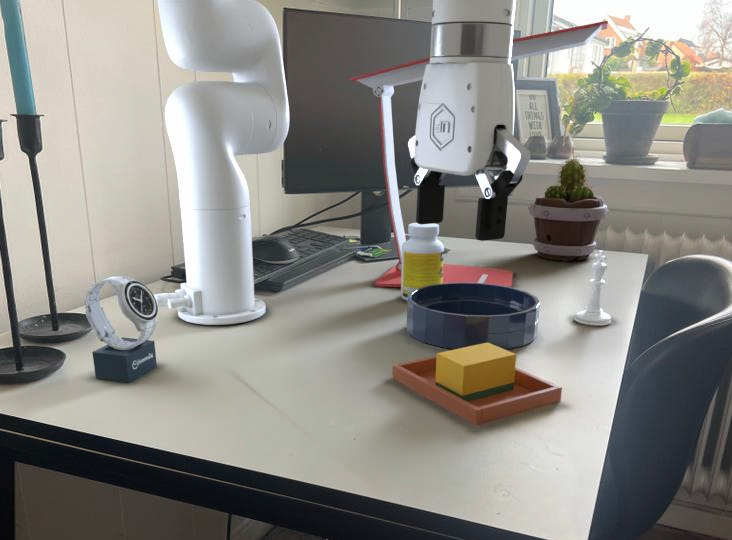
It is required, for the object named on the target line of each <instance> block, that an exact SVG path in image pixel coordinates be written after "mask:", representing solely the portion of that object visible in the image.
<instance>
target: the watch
mask: <svg viewBox="0 0 732 540" xmlns="http://www.w3.org/2000/svg"><path fill="white" fill-rule="evenodd" d="M106 284H110V285H111V289H112V290H113V291H114V293H115V295H116V300H117V306H118V308H119V310H120V311H121V313H122V314H123V316H124V317H125V318H126V319H127V320H129V321H130V322H132V324H133V325H134V327H135V328H136V331H138V332H140V334H139V336H138V338H132V337H124V336H123V337H118V335H117V334H116V329H115V328H114V327H113V325H112V324H111V322H110V321H109V319H108V317H107V315H106V313H105V311H104V307H101V302H100V301H99V299H100V293H101V290H102V289H103V287H104V286H105V285H106ZM84 308H85V311H84V313H85V316H86V318H87V321H88V323H89V325H90V327H91V329H92V331H93V332H94V334H95V336H96V337H97V338H98V339H99V341H100V342H103V343H104V344H106V345H104V346H102V347H100V348H98V349H95V350H94V351H92V352H91V353H92V360H93V367H94V375H95V379H99V380H105V381H106V380H107V381H111V382H112V381H113V382H120V383H126V384H129V383H131V382H133V381H135V380H137V379H138V378H139V377H142V376H143V375H145V374H146V373H148V372H150V371H152V370H153V369H155V368H156V367H157V366H158V365H157V353H156V345H155V344H156V343H155V340H150V338H151V336H152V335H153V334H154V331H155V329H156V326H157V323H158V314H159V308H158V304H157V301H156V299H155V297H154V293H153V292H152V290H151V288H149V287H148V286H147V285H146V284H145V283H143V282H141V281H139V280H135V279H134V278H132V277H128V276H125V275H114V276H113V275H112V276H110V277H107V278H104V279H101V280H98V281H96V282H94V283H93V284H92V285H90V287H89V288H88V290H87V293H86V294H85V298H84Z"/></svg>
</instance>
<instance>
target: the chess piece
mask: <svg viewBox="0 0 732 540" xmlns="http://www.w3.org/2000/svg"><path fill="white" fill-rule="evenodd" d="M593 257H594V259H597V261H596V262H594V263H592V264H591V270H592V275H593V278H591V279H589V282H588V283H590V284H591V285H592V289H591V294H590V298H589V302H588V306H587V307H585V308H584V309H585V310H580V311H578V312H576V313H575V316H574V321H575V322H577V323H579V324H582V325H587V326H595V327H596V326H600V327H601V326H602V327H603V326H608V325H610V324H611V323H612V321H611V320H612V316H611V315H609V314H608V313H606V312H603V311H604V309H602V307H601V285H602V286H603V285H605V284H606V280H604V279H603V276H604V274H605V272H606V270H607V267H608V265H607V264H606V263H604V262H603V261H606V260H607V256H606V255H604V250H598V253H595V254H594V256H593Z"/></svg>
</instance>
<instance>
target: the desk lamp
mask: <svg viewBox="0 0 732 540" xmlns="http://www.w3.org/2000/svg"><path fill="white" fill-rule="evenodd" d="M608 24H609V21H608V20H605V21H599V22H593V23H588V24H584V25H583V24H582V25H578V26H573V27H567V28H563V29H558V30H553V31H546V32H542V33H537V34H532V35H527V36H521V37H517V38H512V48H511V58H510V59H511V60H510V62H513V61H517V60H522V59H526V58H532V57H536V56H540V55H545V54H549V53H555V52H560V51H564V50H569V49H572V48H573V49H574V48H577V47H583V46H586V45H587V44H588V43H589V42H590V41H591V40H592V39H593V38H595V36H596V35H598V34H599V33H600V32H601V31H604V30H607V29H608V26H609V25H608ZM430 58H431V57H430V56H429V57H427V58H423V59H419V60H416V61H411V62H408V63H404V64H399V65H397V66H393V67H388V68H385V69H381V70H377V71H373V72H370V73H366V74H362V75H359V76H355V77H350V78H349V82H356V83H357V82H358V83H360V84H362V85H364V86H366V87H369V88H370V89H372V93H373V95H374V96H376V97H377V98H378V104H379V105H378V106H379V119H380V132H381V133H380V135H381V146H382V147H381V149H382V162H383V172H384V181H385V187H386V195H387V204H388V210H389V211H388V212H389V216H390V222H391V227H392V233H393V238H394V242H395V248H396V253H397V258H398V262H397V263H396V264H395V265H394V266H393V267H392V268H390V269H389V270H388V271H387V272H385V273H384V274H383V275H381V276H380V277H379V278H378V279H376V281H375V282H374V286H375V287H380V288H381V287H382V288H383V287H385V288H401V273H402V246H403V244H404V242H406V241H407V238H406V234H405V227H404V222H403V217H402V209H401V205H400V196H399V187H398V179H397V178H398V177H397V171H396V160H395V144H394V143H395V142H394V129H393V113H392V112H393V111H392V96H393V95H394V94H395V89H394V87H396V86H401V85H406V84H410V83H414V82H415V83H416V82H419V81H423V76H424V72H425V69H426V65H427V64H430ZM513 275H514V272H513V271H512V270H509V269H500V268H499V269H498V268H489V267H488V268H487V267H478V266H469V265H459V264H449V263H443V281H442V283H458V282H462V283H484V284H495V285H501V286H507V287H512V285H513Z"/></svg>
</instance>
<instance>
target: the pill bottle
mask: <svg viewBox="0 0 732 540" xmlns="http://www.w3.org/2000/svg"><path fill="white" fill-rule="evenodd" d="M439 233H440V225H439V223H432V224H418V223H417V222H412V223H409V224H408V228H407V234H408V235H409V239H406V242H404V244H403V246H402V273H401V287H400V296H401V298H402V299H403V300H404V301H406V302H408V294H409V293H410V292H411V291H413V290H414V289H417V288H420V287H424V286H428V285H434V284H441V283H442V281H443V264H444V258H445V246H444V244H443V242H441V241H440V240H439V239H438V236H439Z"/></svg>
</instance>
